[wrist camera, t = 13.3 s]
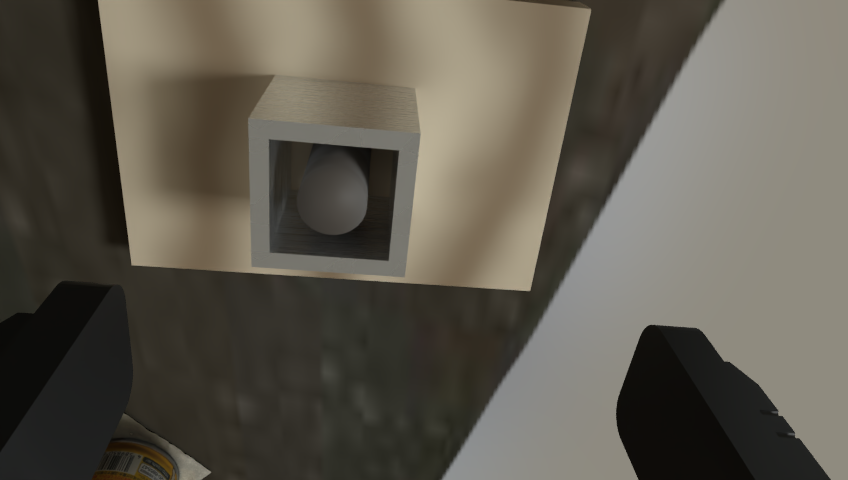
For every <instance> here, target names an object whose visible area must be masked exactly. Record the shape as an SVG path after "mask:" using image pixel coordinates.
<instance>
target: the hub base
mask: <svg viewBox="0 0 848 480" xmlns="http://www.w3.org/2000/svg"><path fill="white" fill-rule="evenodd" d="M98 5H99V12H100V20H101V28H102V36H103V44H104V52H105V59H106V67H107V75H108V83H109V91H110V98H111V106H112V114H113V122H114V130H115V138H116V145H117V153H118V161H119V169H120V177H121V184H122V192H123V200H124V208H125V216H126V224H127V231H128V239H129V247H130V255H131V263H132V265H138V266H153V267H168V268H184V269H199V270H215V271H230V272H245V273H261V274H276V275H292V276H307V277H322V278H338V279H353V280H368V281H384V282H399V283H415V284H430V285H445V286H461V287H476V288H492V289H507V290H522V291H530V289H531V284H532V280H533V275H534V271H535V266H536V261H537V257H538V252H539V248H540V243H541V238H542V234H543V229H544V225H545V220H546V215H547V211H548V206H549V202H550V197H551V193H552V188H553V183H554V179H555V174H556V170H557V165H558V160H559V156H560V151H561V147H562V142H563V137H564V133H565V128H566V124H567V119H568V114H569V110H570V105H571V101H572V96H573V91H574V87H575V82H576V78H577V73H578V68H579V64H580V59H581V55H582V50H583V45H584V41H585V36H586V32H587V27H588V22H589V18H590V13H591V9H590V8H589V7H587V6H585V5H584V4H582V3H580V2H575V1H566V0H98ZM275 75H284V76H294V77H305V78H315V79H326V80H336V81H347V82H357V83H368V84H378V85H389V86H399V87H410V88H415V91H416V99H417V107H418V115H419V123H420V132H421V136H420V145H419V154H418V163H417V172H416V181H415V190H414V199H413V208H412V217H411V226H410V235H409V244H408V254H407V263H406V272H405V277H392V276H377V275H362V274H348V273H333V272H319V271H304V270H289V269H275V268H260V267H251V225H250V180H249V135H248V118H249V116H250V114H251V113H252V111H253V110H254V108H255V107H256V105H257V103H258V102H259V100H260V99H261V97H262V95H263V94H264V92H265V91H266V89H267V88H268V86H269V84H270V83H271V81H272V80H273V78H274V76H275ZM392 160H393V150H388V149H377V148H365V147H354V146H342V145H331V144H319V143H307V142H296V141H291V189H294V190H299V191H298V195H297V209H298V212H299V214H300V216H301V218H302V219H303V221H304V222H305V223H306V224H307V225H308V226H309V227H310V228H312V229H313V230H315V231H317V232H320V233H323V234H328V235H340V234H344V233H347V232H349V231H351V230H353V229H354V228H356V227H357V226H358V225H359V224H360V223H361V222H362V220H363V218H364V216H365V214H366V210H367V200H368V195H370V196H382V197H389V193H390V182H391V171H392Z"/></svg>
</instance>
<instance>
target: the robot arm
mask: <svg viewBox="0 0 848 480" xmlns="http://www.w3.org/2000/svg"><path fill="white" fill-rule="evenodd" d="M132 380H133V364H132V355H131V345H130V336H129V327H128V318H127V309H126V300H125V294H124V291H123V289H122V287H121V286H120V285H117V284H104V283H90V282H76V281H62V282H60V283H59V284H58V285H57V286H56V287H55V288H54V290H53V291H52V292H51V293H50V295H49V296H48V297H47V298H46V300H45V301H44V302H43V303H42V304H41V306H40V307H39V308H38V309H37V311H36V312H35V313H34V314H31V313H16V314H15V315H13V316H11V317H10V318H8V319H6V320H5V321H3V322H1V323H0V480H91V479H92V477H93V475H94V473H95V471H96V469H97V467H98V465H99V463H100V461H101V459H102V456H103V454H104V452H105V450H106V448H107V446H108V444H109V442H110V440H111V438H112V436H113V434H114V432H115V430H116V428H117V426H118V424H119V422H120V420H121V418H122V416H123V413H124V411H125V409H126V407H127V404H128V401H129V397H130V393H131V387H132ZM616 420H617V427H618V432H619V435H620V438H621V440H622V443H623V445H624V447H625V450H626V452H627V454H628V457H629V459H630V461H631V463H632V466H633V468H634V470H635V473H636V475H637V477H638V479H639V480H831V479H830V478H829V477H828V475H827V474H826V473H825V472H824V470H823V469H822V468H821V466H820V465H819V464H818V462H817V461H816V460H815V458H814V457H813V456H812V454H811V453H810V452H809V450H808V449H807V448H806V447H805V445H804V444H803V443H802V441H801V440H800V439H799V438H795V432H794V431H793V429H792V428H791V427H790V426H789V424H788V423H787V422H786V420H785V419H784V418H783V416H778V410H777V409H776V407H775V406H774V405H773V403H772V402H771V401H770V399H769V398H768V397H767V395H766V394H765V393H764V391H763V390H762V389H761V388H760V386H759V385H758V384H757V383H755V382H754V381H753V380H752V379H750V378H749V377H748V376H747V375H745V374H744V373H743V372H742V371H740V370H739V369H738V368H737V367H735V366H734V365H733V364H731V363H730V362H724V361H723V360H722V358H721V357H720V355H719V354H718V353H717V351H716V350H715V348H714V347H713V346H712V344H711V343H710V342H709V340H708V339H707V337H706V336H705V335H704V334H703V332H702V331H700V330H699V329H697V328H687V327H673V326H660V325H649V326H647V327H646V328H645V329H644V330H643V332H642V334H641V336H640V339H639V341H638V344H637V347H636V350H635V352H634V355H633V358H632V361H631V364H630V366H629V369H628V372H627V375H626V378H625V380H624V383H623V386H622V389H621V391H620V395H619V397H618V402H617V409H616Z"/></svg>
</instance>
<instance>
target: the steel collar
mask: <svg viewBox="0 0 848 480" xmlns="http://www.w3.org/2000/svg"><path fill="white" fill-rule="evenodd" d="M248 135H249V180H250V225H251V267H260V268H275V269H289V270H304V271H319V272H333V273H348V274H362V275H377V276H392V277H405V272H406V263H407V254H408V244H409V235H410V226H411V217H412V208H413V199H414V190H415V181H416V172H417V163H418V154H419V145H420V136H421V132H420V123H419V115H418V107H417V99H416V91H415V88H410V87H399V86H389V85H378V84H368V83H357V82H347V81H336V80H326V79H315V78H305V77H294V76H284V75H275V76H274V78H273V80H272V81H271V83H270V84H269V86H268V88H267V89H266V91H265V92H264V94H263V95H262V97H261V99H260V100H259V102H258V103H257V105H256V107H255V108H254V110H253V111H252V113H251V114H250V116H249V118H248ZM291 141H296V142H307V143H319V144H331V145H342V146H354V147H365V148H377V149H388V150H393V160H392V171H391V182H390V193H389V197H382V196H370V195H368V200H367V210H366V214H365V216H364V218H363V220H362V222H361V223H360V224H359V225H358V226H357V227H356V228H354V229H353V230H351V231H349V232H347V233H344V234H340V235H328V234H323V233H320V232H317V231H315V230H313V229H312V228H310V227H309V226H308V225H307V224H306V223H305V222H304V221H303V219H302V218H301V216H300V214H299V212H298V209H297V195H298V191H299V190H294V189H291Z"/></svg>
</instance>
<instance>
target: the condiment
mask: <svg viewBox="0 0 848 480" xmlns="http://www.w3.org/2000/svg"><path fill="white" fill-rule="evenodd" d="M130 433H132V435H130ZM210 473H211V472H210V471H209V470H207V469H206V468H205V467H203V466H202V465H201V464H199V463H198V462H196V461H195V460H194V459H193V458H191V457H190V456H188V455H186V454H184V453H183V452H182V451H181V450H180V449H178V448H177V447H175V446H174V445H172V444H169V442H168V441H166V440H164V439H163V438H161V437H159V436H158V435H157V434H155V433H152V432H150V431H148V430H147V429H145V428H144V426H142V425H141V424H139V423H138V422H136V421H135V420H134V419H132V418H131V417H129V416H128V415H126V414H125V413H123V416H122V418H121V420H120V422H119V424H118V426H117V428H116V430H115V432H114V434H113V436H112V438H111V440H110V442H109V444H108V446H107V448H106V450H105V452H104V454H103V456H102V459H101V461H100V463H99V465H98V467H97V469H96V471H95V473H94V475H93V477H92V479H91V480H201V479H203V478H204V477H206V476H207V475H208V474H210Z"/></svg>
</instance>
